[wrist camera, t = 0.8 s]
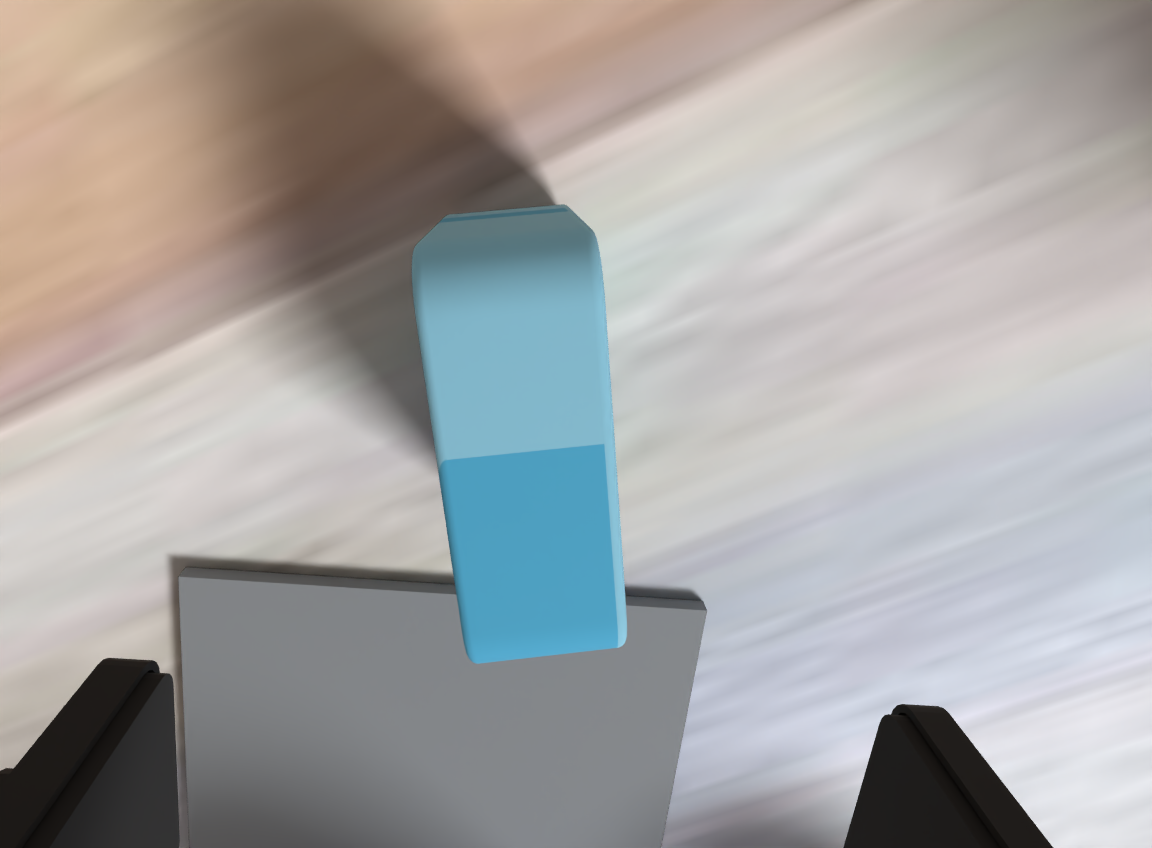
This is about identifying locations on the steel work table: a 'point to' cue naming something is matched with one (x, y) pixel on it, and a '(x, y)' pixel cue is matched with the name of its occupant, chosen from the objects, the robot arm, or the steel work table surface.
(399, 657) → the mat
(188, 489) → the steel work table surface
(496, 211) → the data package
